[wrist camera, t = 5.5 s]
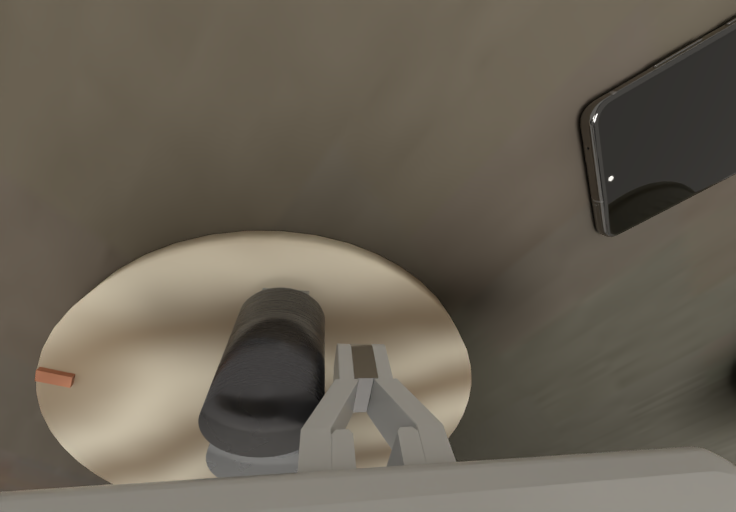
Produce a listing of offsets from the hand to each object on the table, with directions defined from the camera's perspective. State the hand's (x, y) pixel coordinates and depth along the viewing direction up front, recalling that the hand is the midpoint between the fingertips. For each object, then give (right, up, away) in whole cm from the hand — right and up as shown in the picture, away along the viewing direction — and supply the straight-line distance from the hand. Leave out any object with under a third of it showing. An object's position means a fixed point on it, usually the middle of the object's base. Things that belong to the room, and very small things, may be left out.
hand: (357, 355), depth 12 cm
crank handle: (-4, -3, +4) cm, 7 cm away
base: (-5, -5, +8) cm, 11 cm away
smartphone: (+18, +12, +2) cm, 21 cm away
